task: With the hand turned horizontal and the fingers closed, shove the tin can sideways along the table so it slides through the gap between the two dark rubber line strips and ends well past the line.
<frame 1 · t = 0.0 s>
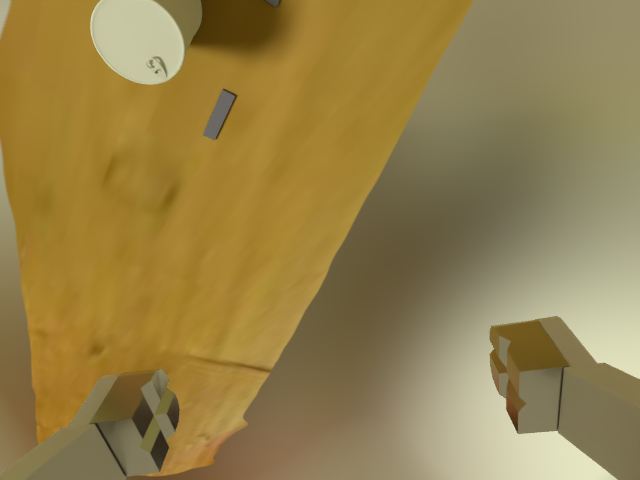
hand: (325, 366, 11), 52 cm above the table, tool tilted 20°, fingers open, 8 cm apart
line strip 2: (218, 115, 62), on the table
can: (163, 4, 52), on the table
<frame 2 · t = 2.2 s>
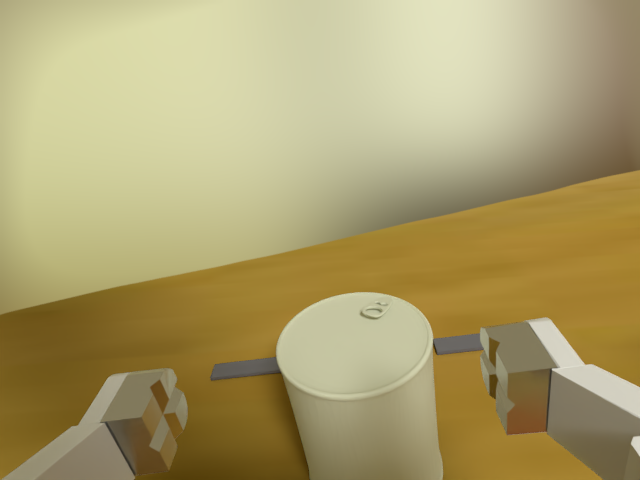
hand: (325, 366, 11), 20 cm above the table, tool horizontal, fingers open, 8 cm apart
line strip 2: (480, 342, 39), on the table
can: (375, 467, 30), on the table
line strip 1: (254, 368, 41), on the table
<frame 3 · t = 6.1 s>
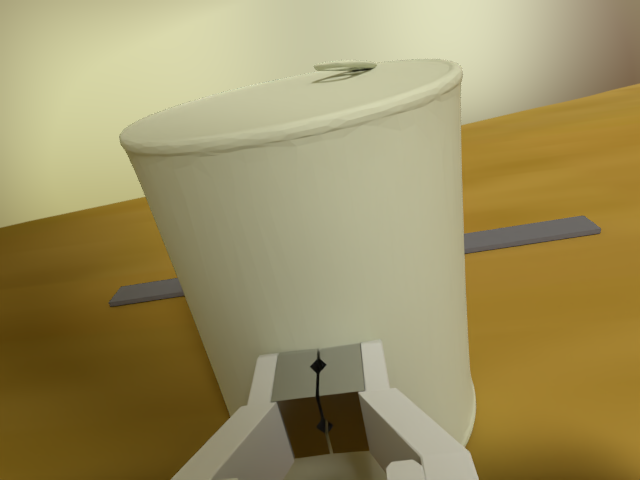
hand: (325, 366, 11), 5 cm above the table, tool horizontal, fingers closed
line strip 2: (520, 237, 25), on the table
can: (351, 399, 17), on the table, touching gripper
line strip 1: (176, 289, 27), on the table
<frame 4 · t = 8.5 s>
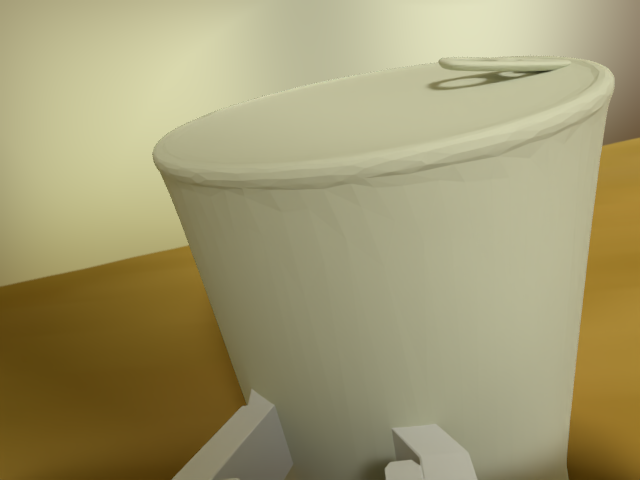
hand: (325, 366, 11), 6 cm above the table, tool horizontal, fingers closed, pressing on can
can: (410, 456, 15), on the table, touching gripper
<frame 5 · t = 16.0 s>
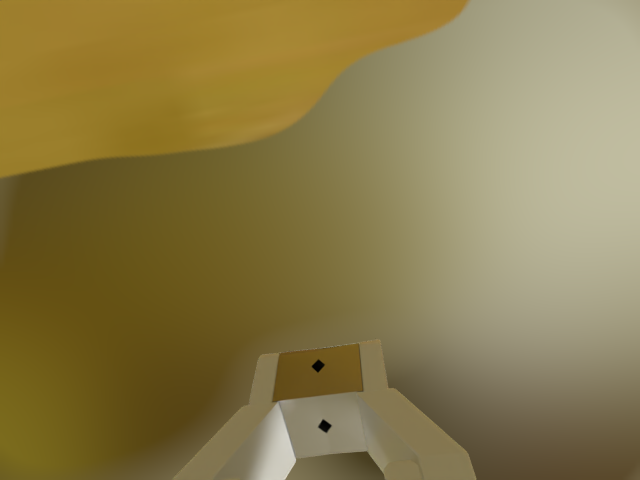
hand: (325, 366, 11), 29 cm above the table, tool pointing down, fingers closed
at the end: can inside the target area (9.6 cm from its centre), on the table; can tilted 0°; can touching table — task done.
